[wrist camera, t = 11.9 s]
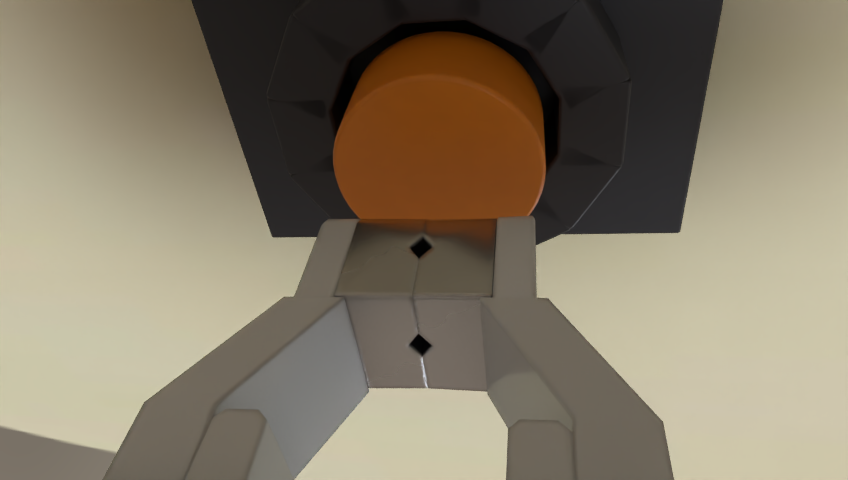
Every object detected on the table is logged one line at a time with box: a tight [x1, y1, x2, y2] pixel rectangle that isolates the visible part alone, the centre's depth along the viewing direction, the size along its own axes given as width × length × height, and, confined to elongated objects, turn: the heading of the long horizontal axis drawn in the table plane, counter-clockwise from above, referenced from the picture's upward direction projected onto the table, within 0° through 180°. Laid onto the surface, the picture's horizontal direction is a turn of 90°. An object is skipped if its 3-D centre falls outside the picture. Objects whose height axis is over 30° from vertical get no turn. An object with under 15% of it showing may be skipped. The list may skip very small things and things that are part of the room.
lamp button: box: [333, 31, 546, 220], centre depth 11 cm, size 4×4×2 cm
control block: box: [192, 0, 723, 245], centre depth 13 cm, size 10×8×4 cm
